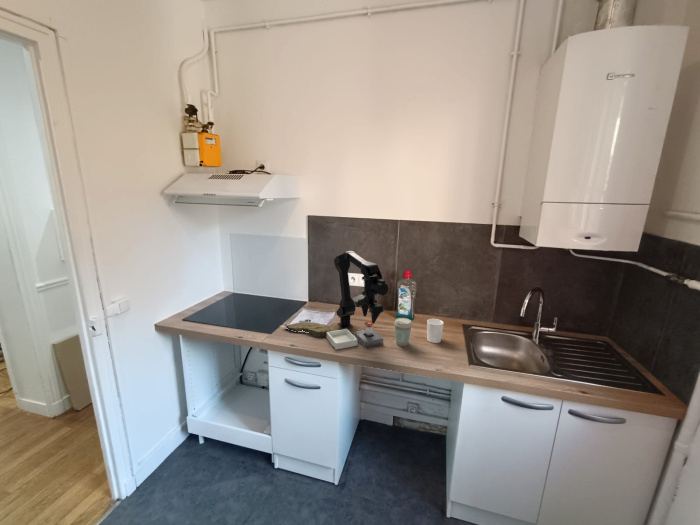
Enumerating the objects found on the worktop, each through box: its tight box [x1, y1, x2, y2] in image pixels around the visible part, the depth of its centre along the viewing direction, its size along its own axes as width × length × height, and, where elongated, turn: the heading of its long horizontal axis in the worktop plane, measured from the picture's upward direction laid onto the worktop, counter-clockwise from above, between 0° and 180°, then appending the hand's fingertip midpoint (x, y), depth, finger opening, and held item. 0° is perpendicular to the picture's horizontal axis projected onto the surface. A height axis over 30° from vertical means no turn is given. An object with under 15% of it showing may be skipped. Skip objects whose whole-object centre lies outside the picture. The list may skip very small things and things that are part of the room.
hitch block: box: [354, 328, 384, 348], centre depth 154 cm, size 12×10×3 cm
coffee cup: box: [393, 317, 413, 347], centre depth 150 cm, size 8×9×12 cm
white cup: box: [426, 318, 444, 344], centre depth 154 cm, size 8×8×10 cm
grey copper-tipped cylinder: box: [364, 320, 375, 338], centre depth 153 cm, size 4×4×9 cm
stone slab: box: [284, 321, 332, 338], centre depth 164 cm, size 27×12×5 cm, turn 73°
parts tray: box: [326, 328, 358, 350], centre depth 152 cm, size 13×11×3 cm
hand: (368, 319), depth 152 cm, fingers open, 9 cm apart
